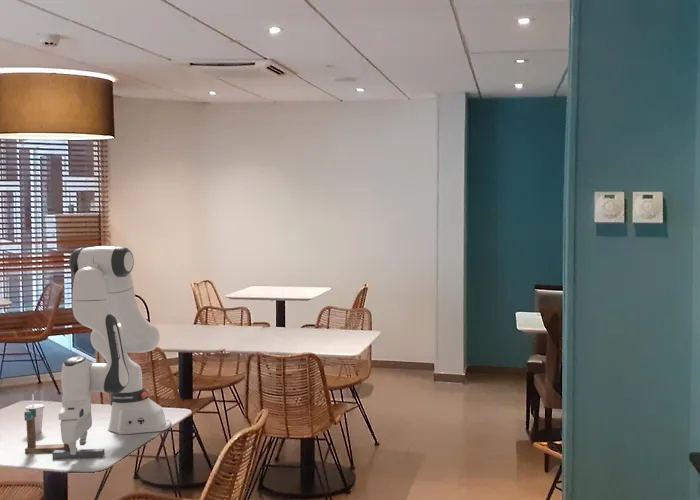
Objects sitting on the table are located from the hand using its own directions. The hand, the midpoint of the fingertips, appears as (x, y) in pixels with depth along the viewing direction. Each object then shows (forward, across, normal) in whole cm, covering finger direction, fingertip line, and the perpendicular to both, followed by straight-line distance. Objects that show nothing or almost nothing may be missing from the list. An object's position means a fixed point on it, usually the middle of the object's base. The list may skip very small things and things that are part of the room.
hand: (78, 449), depth 247 cm
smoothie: (+3, -31, -25) cm, 40 cm away
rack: (+3, -8, -12) cm, 15 cm away
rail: (+3, 0, 0) cm, 3 cm away
